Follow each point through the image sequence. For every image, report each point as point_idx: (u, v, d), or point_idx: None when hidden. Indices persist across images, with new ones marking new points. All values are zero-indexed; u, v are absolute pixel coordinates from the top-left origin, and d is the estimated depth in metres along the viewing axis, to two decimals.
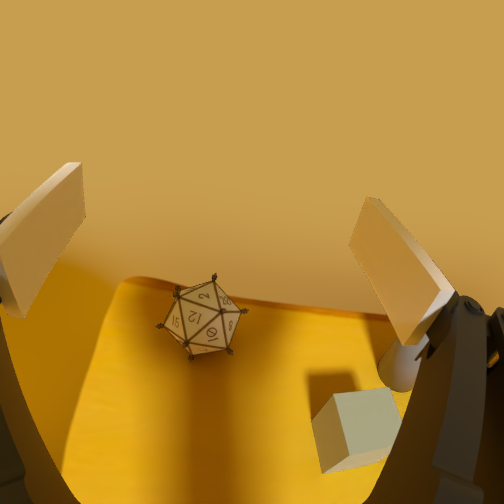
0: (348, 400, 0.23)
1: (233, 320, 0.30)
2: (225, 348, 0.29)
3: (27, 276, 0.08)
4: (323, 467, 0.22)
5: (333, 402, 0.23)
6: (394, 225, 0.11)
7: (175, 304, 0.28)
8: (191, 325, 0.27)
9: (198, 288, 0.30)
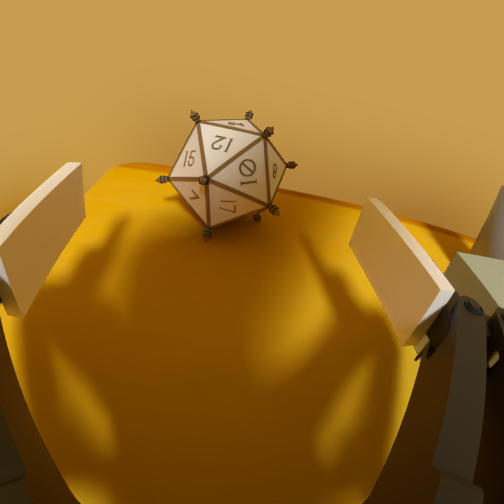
0: (478, 263, 0.12)
1: (277, 167, 0.20)
2: (266, 204, 0.18)
3: (27, 276, 0.08)
4: None
5: (459, 266, 0.13)
6: (394, 225, 0.11)
7: (191, 133, 0.18)
8: (215, 154, 0.17)
9: (227, 120, 0.19)
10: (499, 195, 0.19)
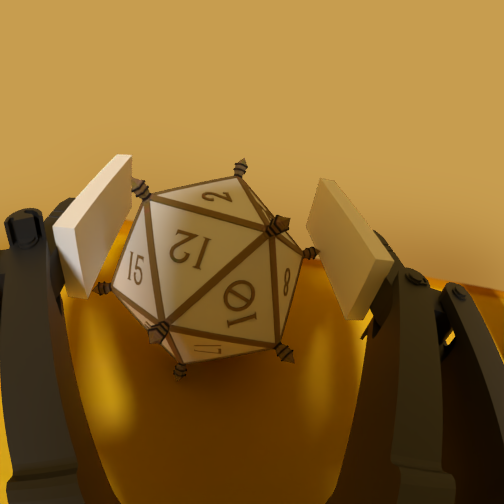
0: None
1: (290, 270, 0.12)
2: (273, 345, 0.11)
3: (92, 258, 0.09)
4: None
5: None
6: (341, 202, 0.12)
7: (137, 219, 0.10)
8: (178, 273, 0.09)
9: (201, 184, 0.11)
10: None
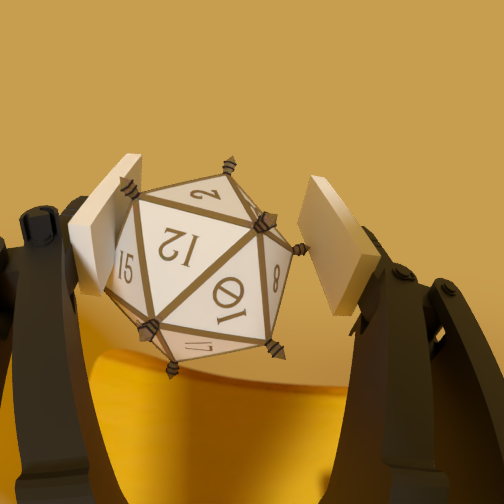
0: None
1: (280, 266, 0.12)
2: (263, 341, 0.11)
3: (105, 256, 0.09)
4: None
5: None
6: (330, 198, 0.12)
7: (126, 218, 0.10)
8: (167, 271, 0.09)
9: (190, 182, 0.11)
10: None
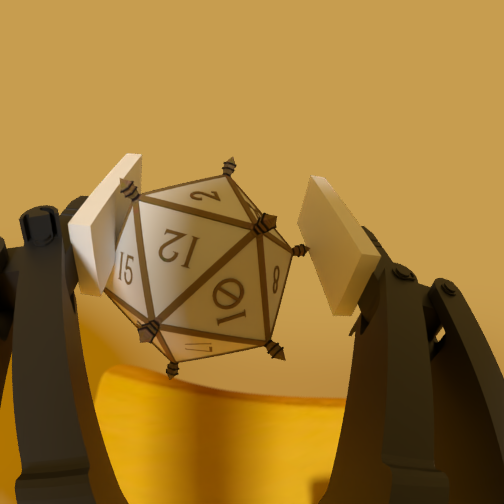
0: None
1: (280, 267, 0.12)
2: (263, 342, 0.11)
3: (105, 256, 0.09)
4: None
5: None
6: (330, 198, 0.12)
7: (127, 220, 0.10)
8: (167, 272, 0.09)
9: (190, 183, 0.11)
10: None
